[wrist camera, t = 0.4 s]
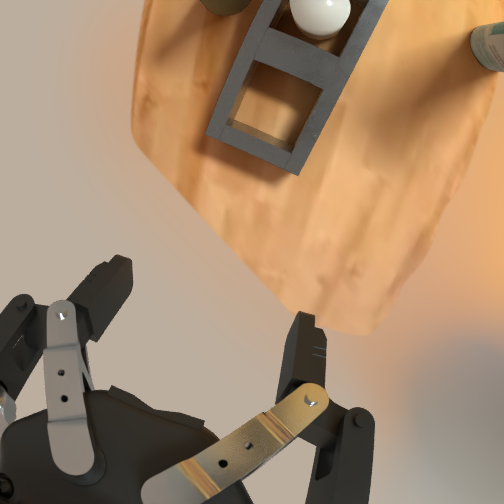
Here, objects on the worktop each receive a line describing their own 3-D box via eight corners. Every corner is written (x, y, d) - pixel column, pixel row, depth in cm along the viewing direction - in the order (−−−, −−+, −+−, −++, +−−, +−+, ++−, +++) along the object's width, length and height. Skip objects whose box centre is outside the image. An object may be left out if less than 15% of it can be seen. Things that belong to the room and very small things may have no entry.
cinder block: (292, -37, 22) (289, -49, 19) (383, 2, 23) (391, -6, 20) (215, 128, 36) (204, 134, 32) (299, 166, 36) (297, 176, 33)
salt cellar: (305, -10, 24) (303, -28, 19) (350, 10, 25) (359, -5, 19) (286, 27, 27) (280, 16, 22) (331, 47, 28) (336, 39, 22)
